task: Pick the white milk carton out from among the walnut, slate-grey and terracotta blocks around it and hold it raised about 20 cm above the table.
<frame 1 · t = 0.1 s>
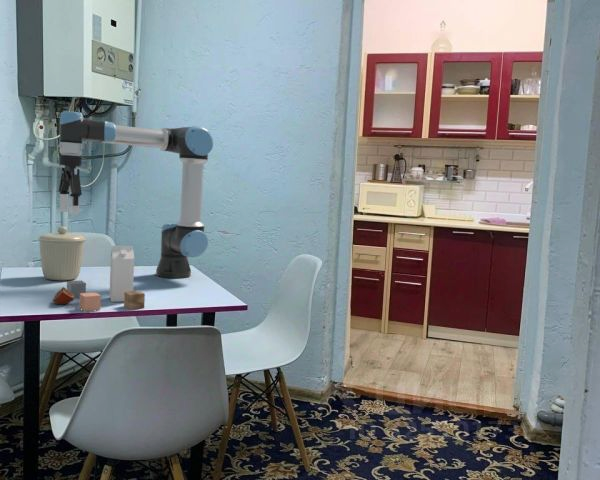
hand: (69, 213, 209), 28 cm above the table, tool pointing down, fingers open, 13 cm apart
fruit slice: (63, 304, 188), on the table
canister: (61, 279, 229), on the table
walnut block: (134, 307, 190), on the table
milk carton: (120, 300, 199), on the table
slate grey block: (76, 296, 201), on the table
terracotta block: (89, 309, 183), on the table
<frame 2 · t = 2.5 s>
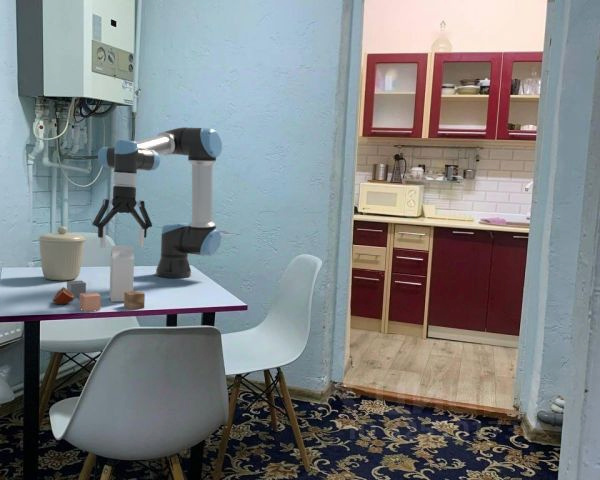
hand: (122, 247, 197), 19 cm above the table, tool pointing down, fingers open, 13 cm apart
nothing on the table moved.
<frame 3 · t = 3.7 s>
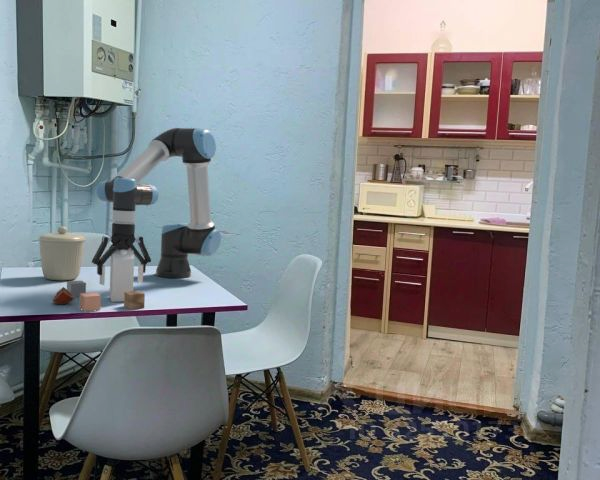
hand: (121, 283, 199), 6 cm above the table, tool pointing down, fingers open, 13 cm apart
nothing on the table moved.
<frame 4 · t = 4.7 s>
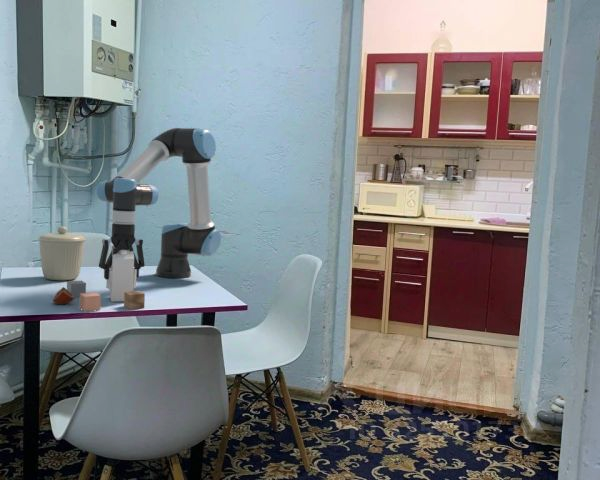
hand: (121, 287, 199), 4 cm above the table, tool pointing down, fingers closed on milk carton, 8 cm apart
milk carton: (120, 300, 199), on the table, touching gripper
everything else where it was.
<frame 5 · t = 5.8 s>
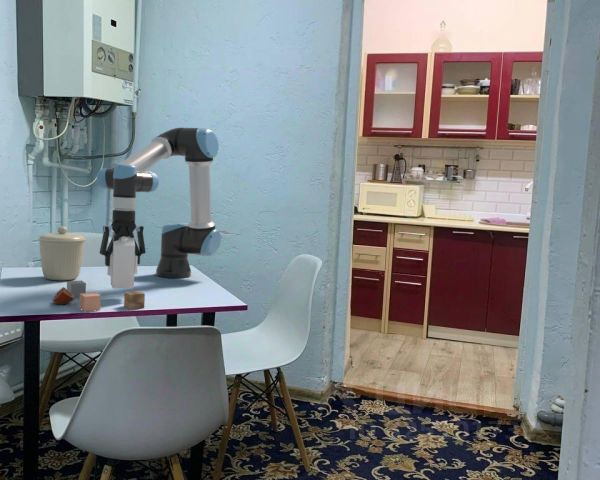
hand: (122, 274, 199), 9 cm above the table, tool pointing down, fingers closed on milk carton, 8 cm apart
milk carton: (122, 286, 199), point 4 cm above the table, touching gripper
everything else where it was.
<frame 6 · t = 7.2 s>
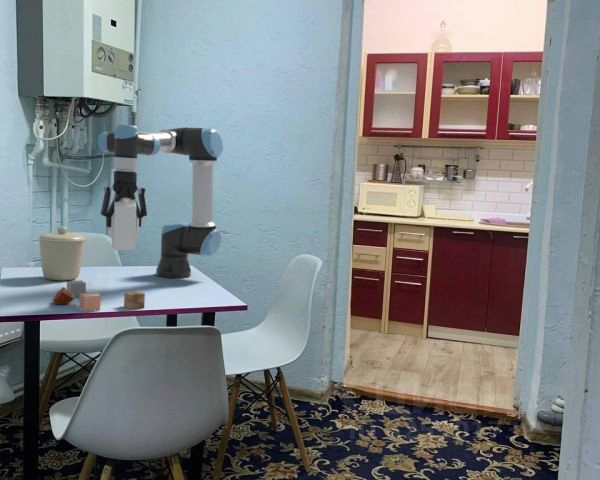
hand: (123, 236, 197), 22 cm above the table, tool pointing down, fingers closed on milk carton, 8 cm apart
milk carton: (123, 249, 198), point 18 cm above the table, touching gripper
everything else where it was.
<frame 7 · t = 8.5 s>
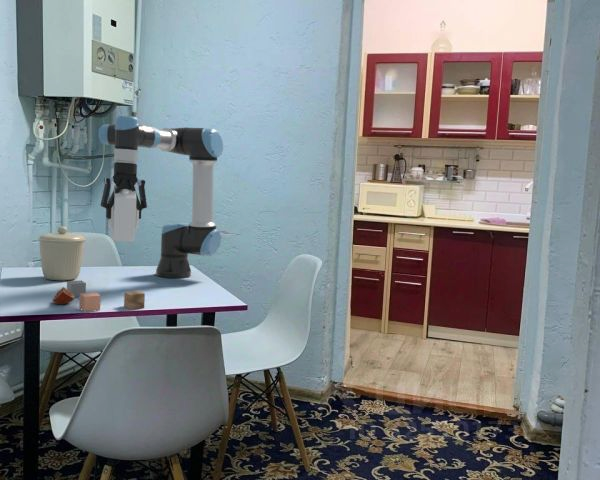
hand: (123, 228, 197), 25 cm above the table, tool pointing down, fingers closed on milk carton, 8 cm apart
milk carton: (123, 241, 197), point 21 cm above the table, touching gripper
everything else where it was.
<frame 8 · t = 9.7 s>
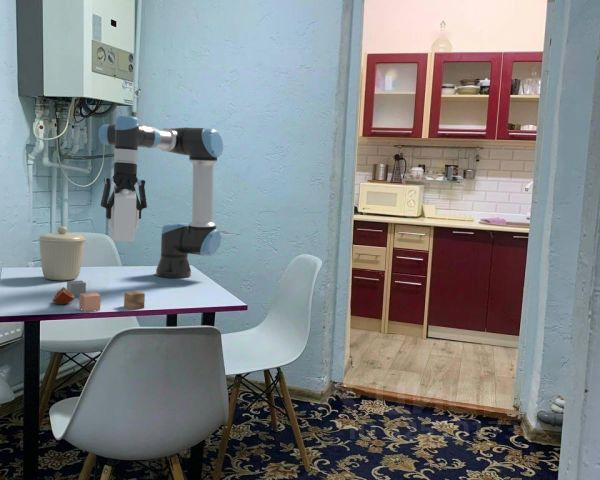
hand: (123, 228, 197), 25 cm above the table, tool pointing down, fingers closed on milk carton, 8 cm apart
milk carton: (123, 241, 197), point 21 cm above the table, touching gripper
everything else where it was.
at the end: the gripper is holding milk carton; milk carton point 20.7 cm above the table; walnut block moved 0.1 cm from its start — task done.
